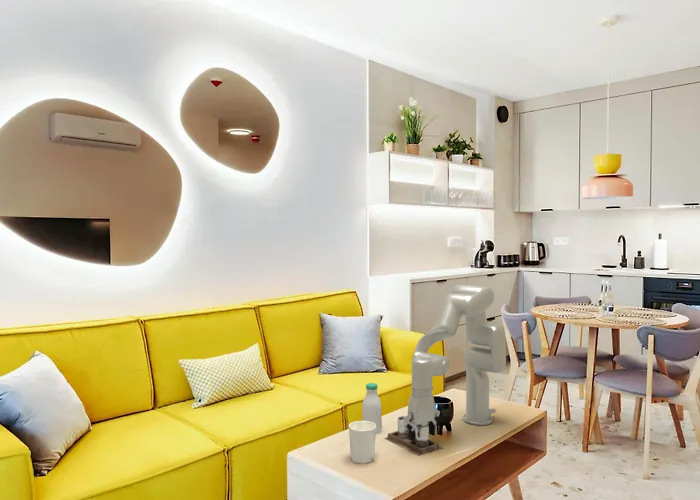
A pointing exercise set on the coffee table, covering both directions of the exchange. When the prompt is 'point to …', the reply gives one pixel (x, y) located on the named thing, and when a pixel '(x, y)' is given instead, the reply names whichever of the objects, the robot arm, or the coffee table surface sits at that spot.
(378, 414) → the milk bottle
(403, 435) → the cylinder
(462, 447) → the coffee table surface
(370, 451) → the white cup
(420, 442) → the silver rounded cylinder
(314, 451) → the coffee table surface
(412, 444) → the brown cruet tray
